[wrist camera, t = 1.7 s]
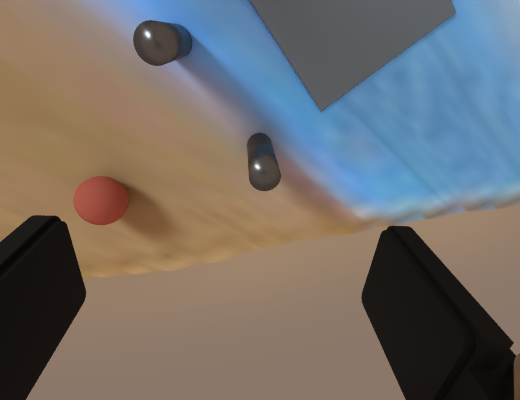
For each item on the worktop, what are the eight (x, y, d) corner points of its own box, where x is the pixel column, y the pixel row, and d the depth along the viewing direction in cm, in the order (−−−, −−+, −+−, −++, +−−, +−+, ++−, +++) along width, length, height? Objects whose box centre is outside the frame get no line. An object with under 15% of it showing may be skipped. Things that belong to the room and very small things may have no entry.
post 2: (242, 143, 31) (242, 174, 24) (261, 128, 30) (268, 155, 23) (257, 161, 32) (261, 196, 25) (276, 147, 32) (286, 179, 25)
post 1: (155, 38, 26) (124, 39, 19) (177, 17, 25) (153, 10, 18) (177, 63, 27) (154, 74, 20) (198, 44, 26) (183, 48, 19)
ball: (77, 186, 32) (52, 210, 28) (107, 159, 31) (86, 180, 27) (114, 216, 34) (95, 243, 30) (144, 192, 33) (129, 216, 29)
